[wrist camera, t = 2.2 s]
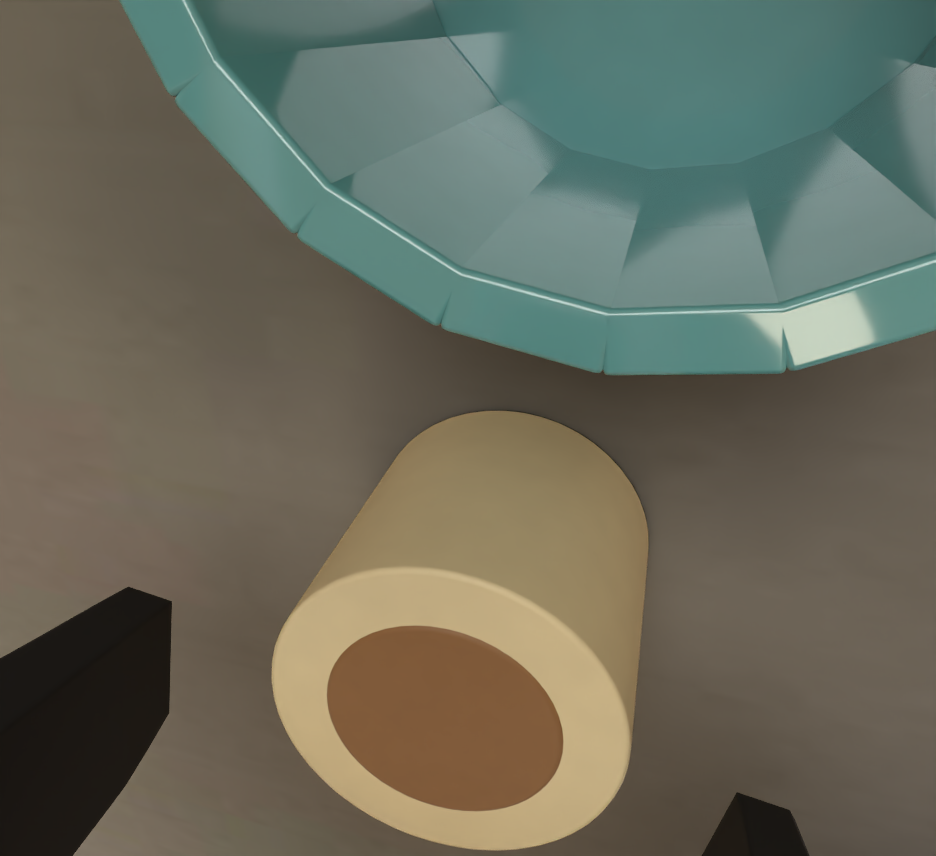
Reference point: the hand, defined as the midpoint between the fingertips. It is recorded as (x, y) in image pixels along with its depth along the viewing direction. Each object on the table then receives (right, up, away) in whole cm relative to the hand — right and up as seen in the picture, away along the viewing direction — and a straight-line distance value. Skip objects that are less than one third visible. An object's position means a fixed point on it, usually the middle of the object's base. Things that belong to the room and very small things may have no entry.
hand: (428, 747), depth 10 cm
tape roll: (+1, +2, +4) cm, 5 cm away
